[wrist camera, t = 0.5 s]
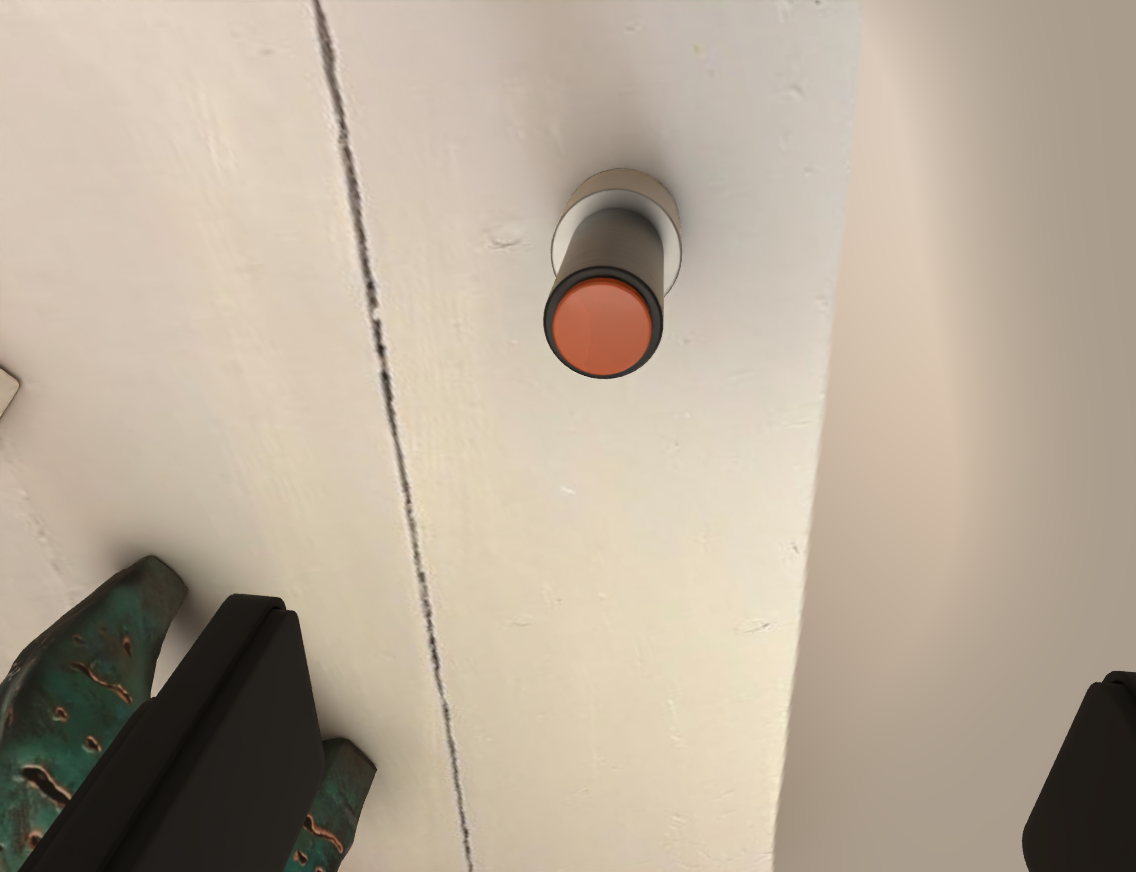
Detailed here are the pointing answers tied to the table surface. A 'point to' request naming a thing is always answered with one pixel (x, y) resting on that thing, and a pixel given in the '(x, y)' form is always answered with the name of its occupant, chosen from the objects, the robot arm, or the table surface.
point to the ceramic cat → (124, 718)
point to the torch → (612, 273)
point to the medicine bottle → (6, 389)
